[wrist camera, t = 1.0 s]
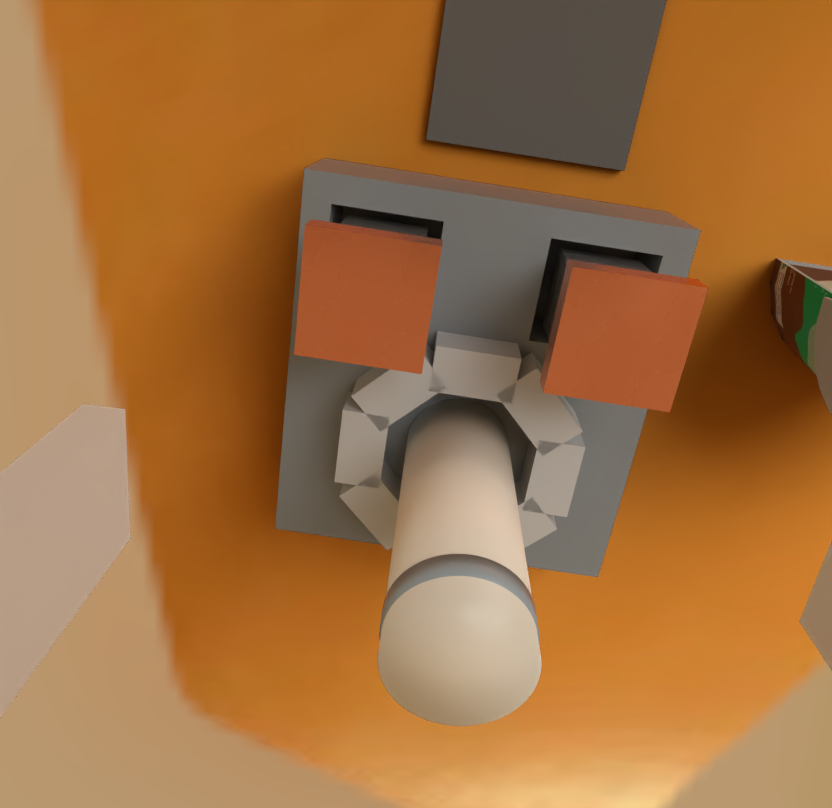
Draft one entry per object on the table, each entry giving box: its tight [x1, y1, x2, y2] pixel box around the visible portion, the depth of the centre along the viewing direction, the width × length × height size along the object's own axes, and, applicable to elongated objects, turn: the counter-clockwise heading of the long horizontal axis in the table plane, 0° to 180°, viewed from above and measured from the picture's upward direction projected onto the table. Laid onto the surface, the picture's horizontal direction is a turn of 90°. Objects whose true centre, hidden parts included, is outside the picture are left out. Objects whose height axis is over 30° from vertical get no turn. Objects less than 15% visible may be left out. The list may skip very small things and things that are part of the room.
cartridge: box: [378, 398, 541, 726], centre depth 27 cm, size 5×5×14 cm
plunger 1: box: [294, 215, 443, 374], centre depth 28 cm, size 5×5×7 cm
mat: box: [426, 0, 667, 171], centre depth 31 cm, size 9×9×1 cm
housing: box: [275, 158, 701, 577], centre depth 34 cm, size 17×16×7 cm
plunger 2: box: [540, 248, 708, 412], centre depth 28 cm, size 5×5×7 cm
